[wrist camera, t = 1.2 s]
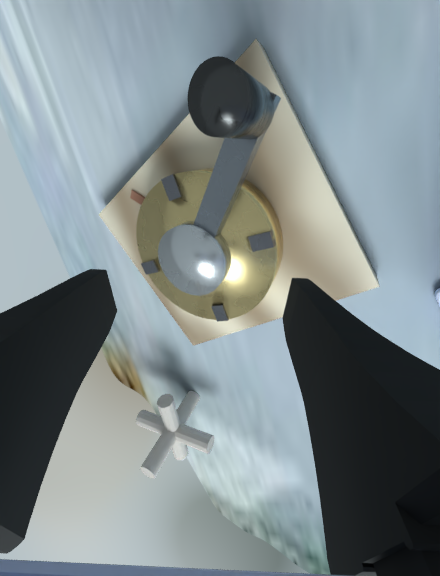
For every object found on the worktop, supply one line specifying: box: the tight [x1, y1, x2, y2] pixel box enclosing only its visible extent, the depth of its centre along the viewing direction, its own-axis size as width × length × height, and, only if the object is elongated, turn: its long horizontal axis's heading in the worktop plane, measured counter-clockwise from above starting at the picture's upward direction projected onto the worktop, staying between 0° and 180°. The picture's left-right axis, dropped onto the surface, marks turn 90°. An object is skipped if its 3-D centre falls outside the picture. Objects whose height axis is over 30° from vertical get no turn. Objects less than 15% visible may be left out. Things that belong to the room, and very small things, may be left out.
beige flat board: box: [99, 39, 379, 345], centre depth 20 cm, size 18×16×2 cm
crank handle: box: [136, 57, 283, 322], centre depth 15 cm, size 16×11×8 cm
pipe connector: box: [136, 391, 214, 479], centre depth 30 cm, size 10×10×10 cm
